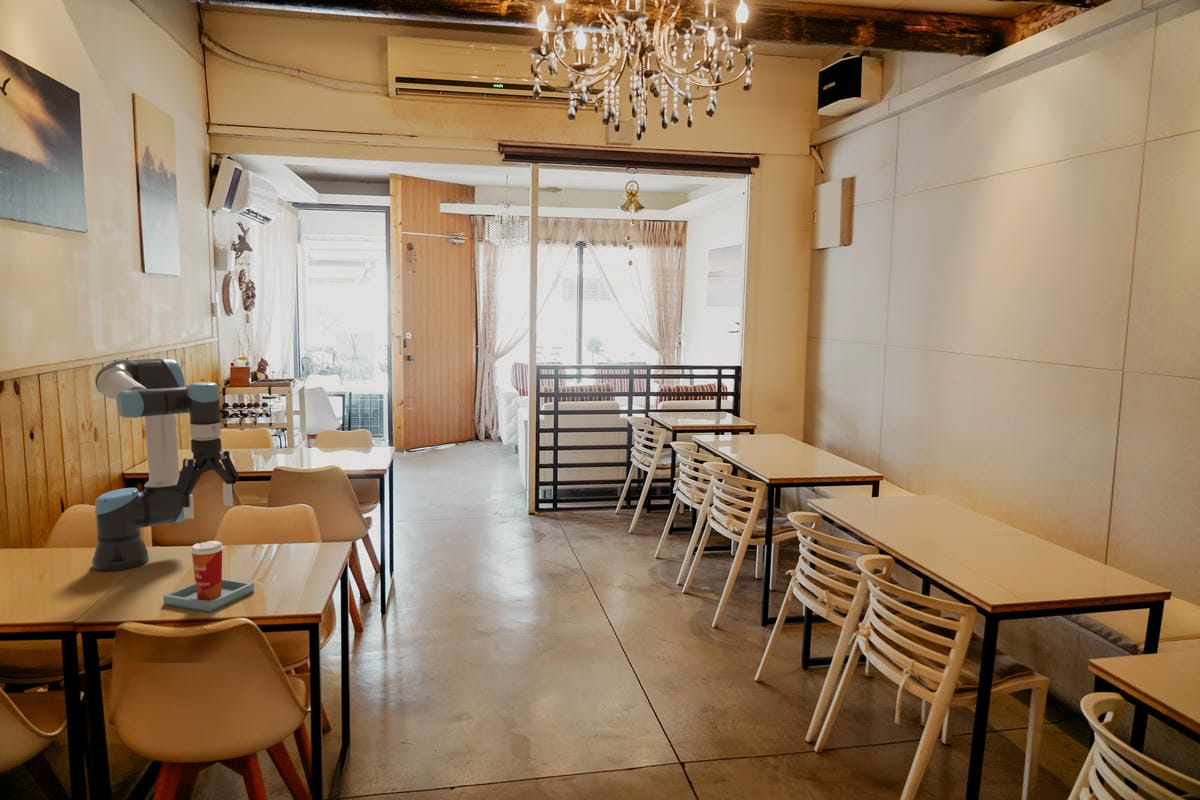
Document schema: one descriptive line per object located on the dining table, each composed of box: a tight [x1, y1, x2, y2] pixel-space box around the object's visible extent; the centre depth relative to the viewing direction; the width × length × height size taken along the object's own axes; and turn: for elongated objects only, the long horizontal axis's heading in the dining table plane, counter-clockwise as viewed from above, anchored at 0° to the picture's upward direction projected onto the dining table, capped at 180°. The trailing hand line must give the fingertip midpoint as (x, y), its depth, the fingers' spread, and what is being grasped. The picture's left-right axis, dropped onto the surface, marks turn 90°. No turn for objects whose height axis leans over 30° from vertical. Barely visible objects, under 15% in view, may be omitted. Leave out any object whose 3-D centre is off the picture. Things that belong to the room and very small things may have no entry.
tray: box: [163, 577, 255, 614], centre depth 211 cm, size 16×16×3 cm
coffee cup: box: [190, 540, 224, 600], centre depth 210 cm, size 8×8×15 cm
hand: (209, 511), depth 211 cm, fingers open, 13 cm apart
